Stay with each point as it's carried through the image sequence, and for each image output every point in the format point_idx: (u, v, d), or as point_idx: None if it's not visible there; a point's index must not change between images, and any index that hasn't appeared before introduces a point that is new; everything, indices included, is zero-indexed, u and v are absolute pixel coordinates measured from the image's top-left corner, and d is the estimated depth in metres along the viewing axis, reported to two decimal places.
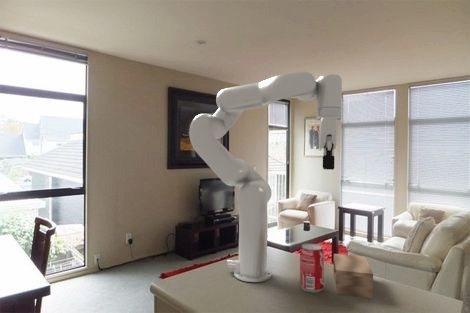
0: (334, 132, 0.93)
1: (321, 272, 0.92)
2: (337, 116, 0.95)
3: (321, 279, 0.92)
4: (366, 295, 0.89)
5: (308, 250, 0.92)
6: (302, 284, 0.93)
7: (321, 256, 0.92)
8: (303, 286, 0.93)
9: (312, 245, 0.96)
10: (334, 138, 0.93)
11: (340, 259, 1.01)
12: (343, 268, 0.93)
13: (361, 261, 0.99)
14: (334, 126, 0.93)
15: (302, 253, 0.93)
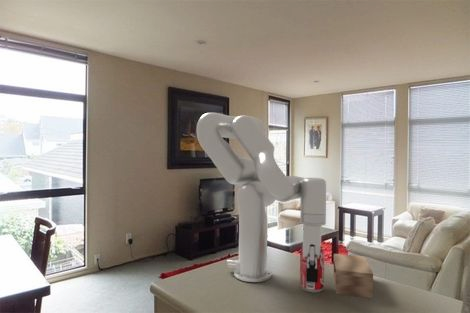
0: (317, 242, 0.89)
1: (321, 271, 0.92)
2: (321, 223, 0.91)
3: (321, 279, 0.92)
4: (366, 295, 0.89)
5: None
6: (302, 284, 0.93)
7: (321, 256, 0.92)
8: (303, 286, 0.93)
9: None
10: (317, 249, 0.89)
11: (340, 259, 1.01)
12: (343, 268, 0.93)
13: (361, 261, 0.99)
14: (317, 236, 0.90)
15: (302, 253, 0.93)
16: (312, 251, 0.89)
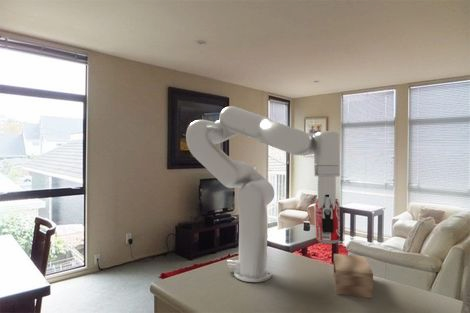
0: (332, 193, 0.90)
1: (337, 222, 0.92)
2: (335, 175, 0.92)
3: (337, 230, 0.92)
4: (366, 295, 0.89)
5: None
6: (318, 236, 0.94)
7: (336, 207, 0.93)
8: (319, 238, 0.93)
9: None
10: (332, 198, 0.90)
11: (340, 259, 1.01)
12: (343, 268, 0.93)
13: (361, 261, 0.99)
14: (332, 186, 0.91)
15: (317, 205, 0.94)
16: (327, 201, 0.89)
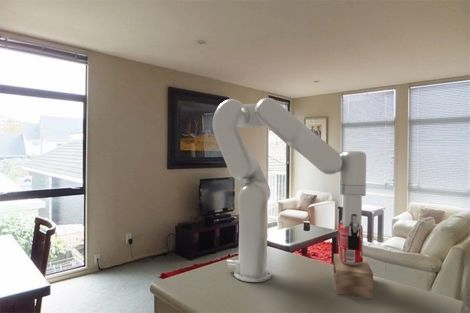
0: (359, 212, 0.93)
1: (360, 245, 0.95)
2: (362, 194, 0.94)
3: (361, 252, 0.95)
4: (366, 295, 0.89)
5: None
6: (342, 258, 0.96)
7: (360, 230, 0.95)
8: (343, 260, 0.96)
9: None
10: (359, 218, 0.92)
11: None
12: (343, 268, 0.93)
13: None
14: (359, 206, 0.93)
15: (342, 228, 0.96)
16: (354, 218, 0.91)
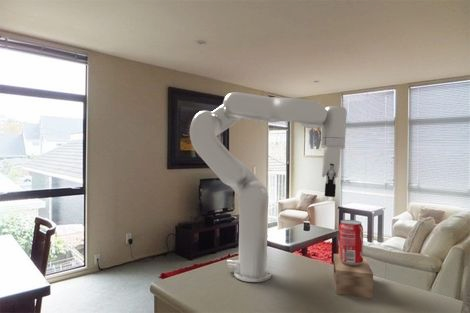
0: (336, 162, 0.98)
1: (361, 245, 0.95)
2: (340, 146, 1.00)
3: (361, 252, 0.95)
4: (366, 295, 0.89)
5: (348, 225, 0.95)
6: (342, 258, 0.96)
7: (361, 230, 0.95)
8: (343, 260, 0.96)
9: (350, 221, 1.00)
10: (336, 167, 0.98)
11: None
12: (343, 268, 0.93)
13: None
14: (337, 156, 0.98)
15: (342, 228, 0.96)
16: (331, 167, 0.97)
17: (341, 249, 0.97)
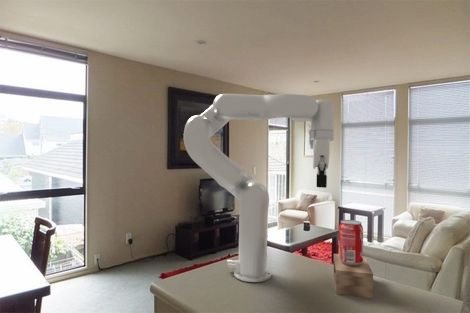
0: (326, 153, 1.01)
1: (361, 245, 0.95)
2: (329, 138, 1.03)
3: (361, 253, 0.95)
4: (366, 295, 0.89)
5: (348, 225, 0.95)
6: (342, 258, 0.96)
7: (361, 230, 0.95)
8: (343, 260, 0.96)
9: (350, 221, 1.00)
10: (326, 159, 1.01)
11: None
12: (343, 268, 0.93)
13: None
14: (326, 148, 1.02)
15: (342, 228, 0.96)
16: (322, 158, 1.00)
17: (341, 249, 0.97)
